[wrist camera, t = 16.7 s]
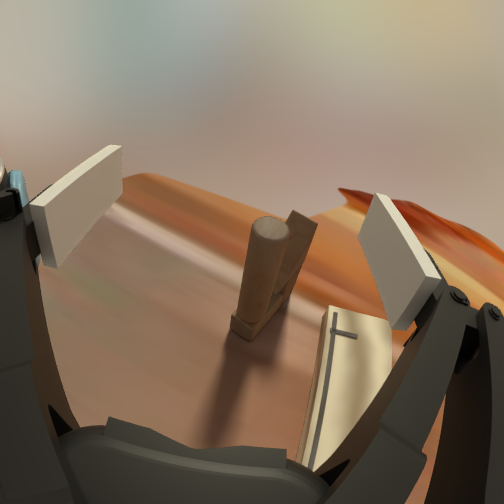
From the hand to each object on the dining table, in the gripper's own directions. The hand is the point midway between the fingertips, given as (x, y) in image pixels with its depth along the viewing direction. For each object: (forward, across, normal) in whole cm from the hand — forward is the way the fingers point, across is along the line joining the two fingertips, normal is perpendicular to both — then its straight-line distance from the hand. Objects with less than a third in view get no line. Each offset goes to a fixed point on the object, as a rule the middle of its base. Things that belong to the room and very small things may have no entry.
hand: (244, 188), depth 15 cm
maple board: (+1, +17, -27) cm, 32 cm away
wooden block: (+16, +5, -25) cm, 30 cm away
